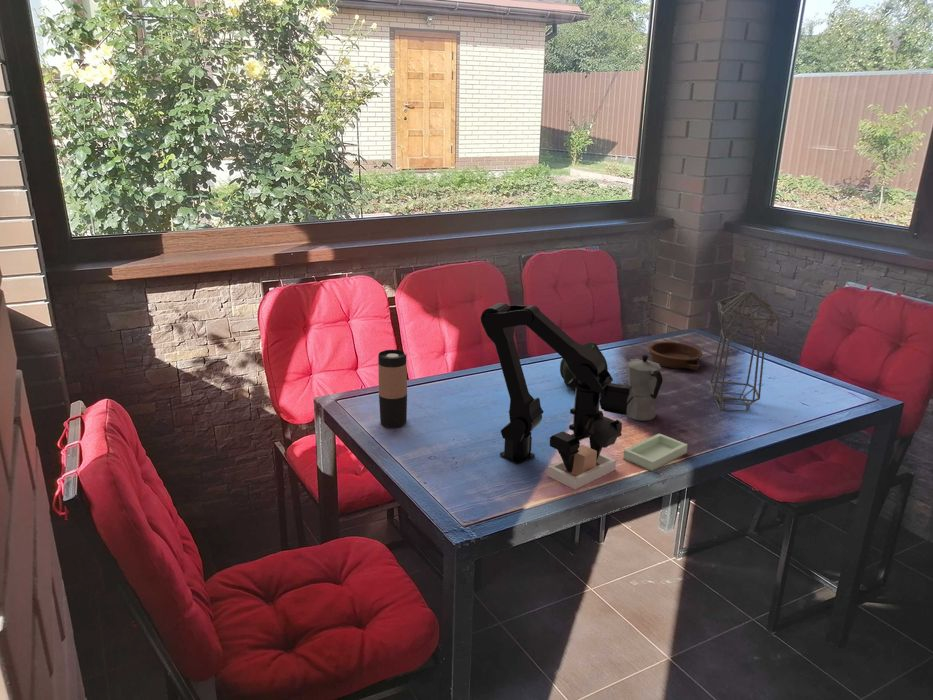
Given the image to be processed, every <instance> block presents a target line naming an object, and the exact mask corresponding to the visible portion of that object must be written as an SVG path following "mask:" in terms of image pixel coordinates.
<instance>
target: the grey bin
mask: <svg viewBox="0 0 933 700" xmlns="http://www.w3.org/2000/svg"><path fill="white" fill-rule="evenodd" d="M616 468H617V459H614V458H612V457H610V456H608V455H605V454H603V453H601V452H600V454H599V457H598V459H597V461H596V467H595V468H593V469H591V470H589V471H587V472H584V473H582V474H580V475H578V476H575V475H573V474H571V473H569V472H566V471H567V469H566V467H565V465H564V462H563V460H562V459H561V460H559V461H557V462H555V463H552V464H551V465H549V466H548V467H547V477H549V478H551V479H553V480H556V481H557V482H559V483H561V484H563V485H565V486H567V487H570V488H571V489H573V490H577V489H579V488H581V487H583V486H585V485H587V484H589V483H592V482H593V481H595V480H598V479H599V478H601V477H603V476H605V475H608V474H609V473H611V472H613V471H615V470H616Z"/></svg>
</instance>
